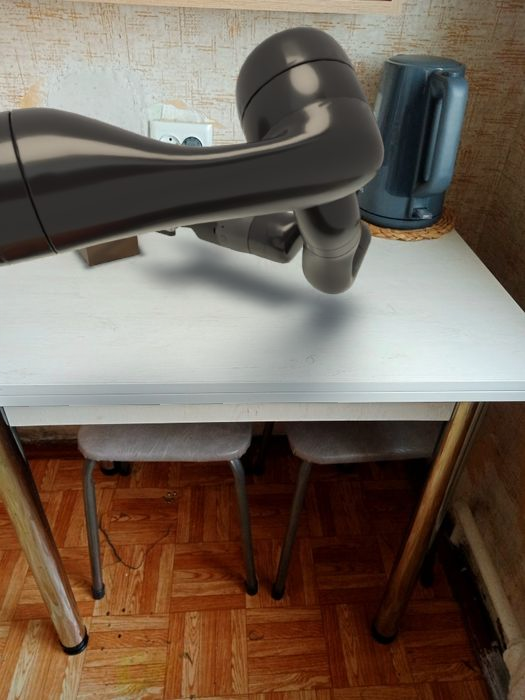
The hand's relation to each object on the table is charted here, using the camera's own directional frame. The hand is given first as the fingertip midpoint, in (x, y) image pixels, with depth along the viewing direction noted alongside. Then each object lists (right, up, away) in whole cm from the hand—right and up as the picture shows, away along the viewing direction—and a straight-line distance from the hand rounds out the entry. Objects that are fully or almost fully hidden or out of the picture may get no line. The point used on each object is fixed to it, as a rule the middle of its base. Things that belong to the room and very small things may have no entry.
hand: (144, 195), depth 79 cm
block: (-10, -6, +11) cm, 16 cm away
